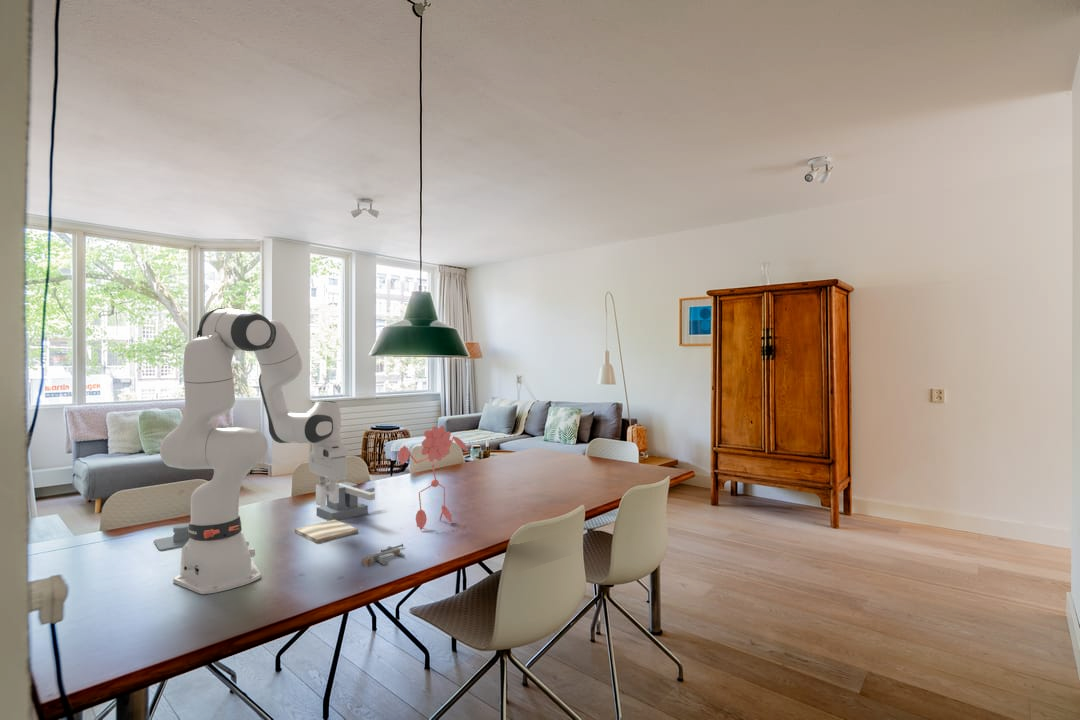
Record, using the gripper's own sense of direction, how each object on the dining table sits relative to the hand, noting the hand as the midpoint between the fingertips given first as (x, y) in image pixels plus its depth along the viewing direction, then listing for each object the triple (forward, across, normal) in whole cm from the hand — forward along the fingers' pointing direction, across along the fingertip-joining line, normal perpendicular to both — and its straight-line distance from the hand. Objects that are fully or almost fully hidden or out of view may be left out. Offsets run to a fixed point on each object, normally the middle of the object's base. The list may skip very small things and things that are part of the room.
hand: (327, 489), depth 176 cm
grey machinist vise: (+15, -8, +16) cm, 23 cm away
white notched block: (+5, 0, 0) cm, 5 cm away
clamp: (+14, +36, +1) cm, 38 cm away
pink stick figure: (+14, +24, +28) cm, 39 cm away
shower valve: (+15, -26, -34) cm, 45 cm away
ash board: (+14, 0, 0) cm, 14 cm away
